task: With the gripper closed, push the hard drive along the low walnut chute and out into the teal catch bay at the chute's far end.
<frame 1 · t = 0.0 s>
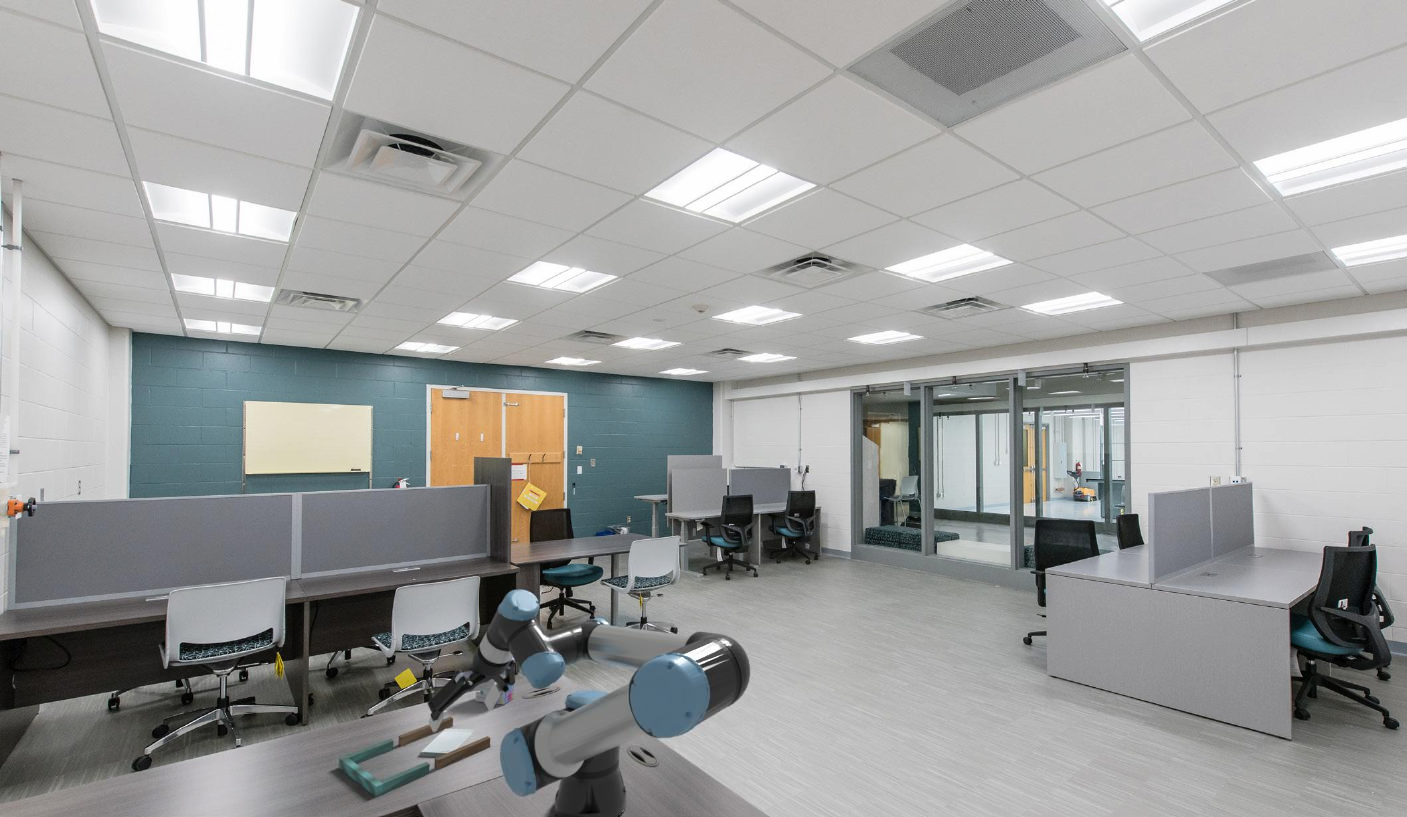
hand: (461, 715, 138), 15 cm above the table, tool tilted 35°, fingers open, 13 cm apart
ink cartridge box: (495, 700, 182), on the table
hard drive: (447, 747, 155), on the table
chute: (447, 744, 155), on the table
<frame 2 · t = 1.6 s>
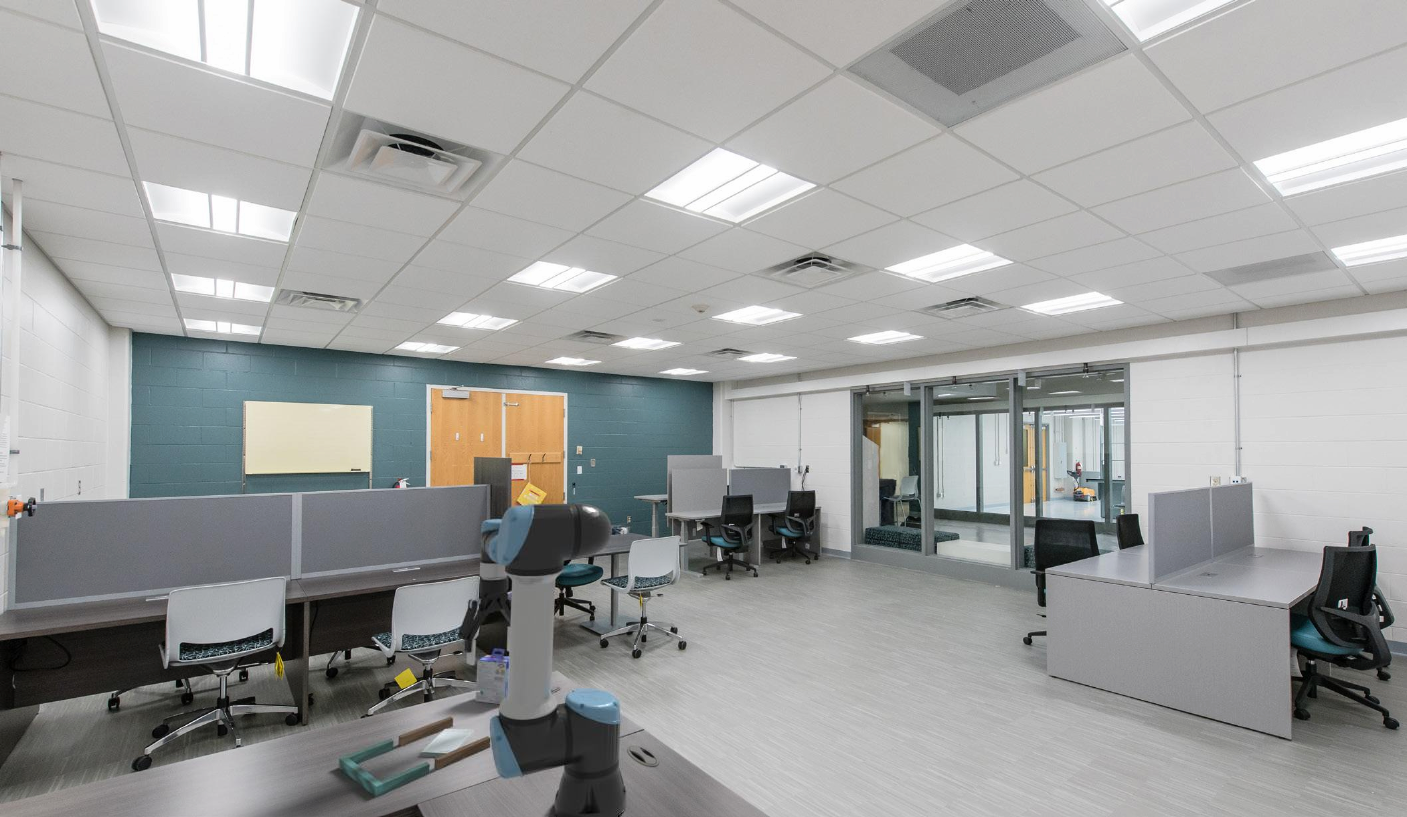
hand: (491, 657, 166), 19 cm above the table, tool pointing down, fingers open, 12 cm apart
nothing on the table moved.
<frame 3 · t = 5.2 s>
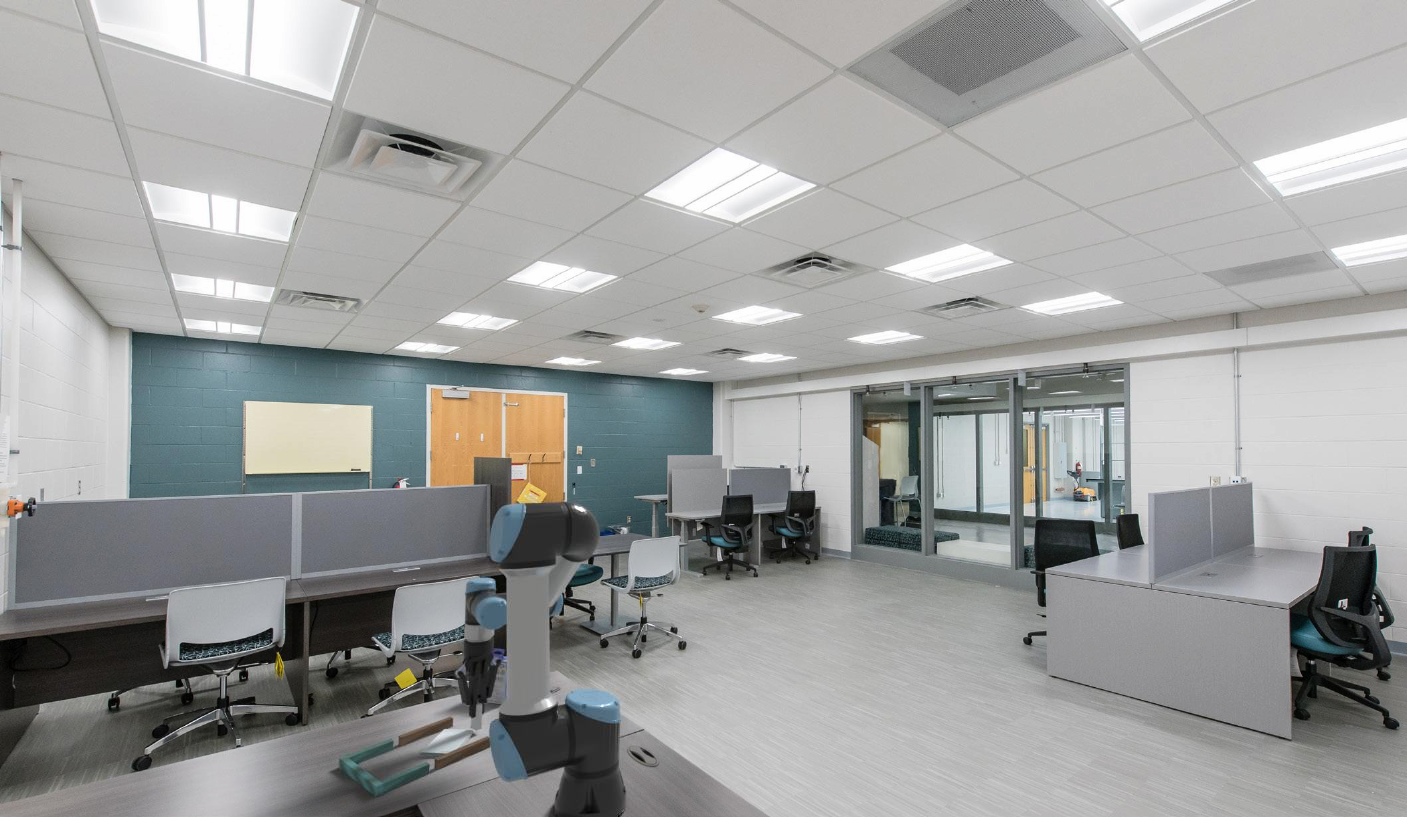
hand: (476, 728, 162), 1 cm above the table, tool pointing down, fingers closed
hard drive: (447, 747, 155), on the table, touching gripper
everything else where it was.
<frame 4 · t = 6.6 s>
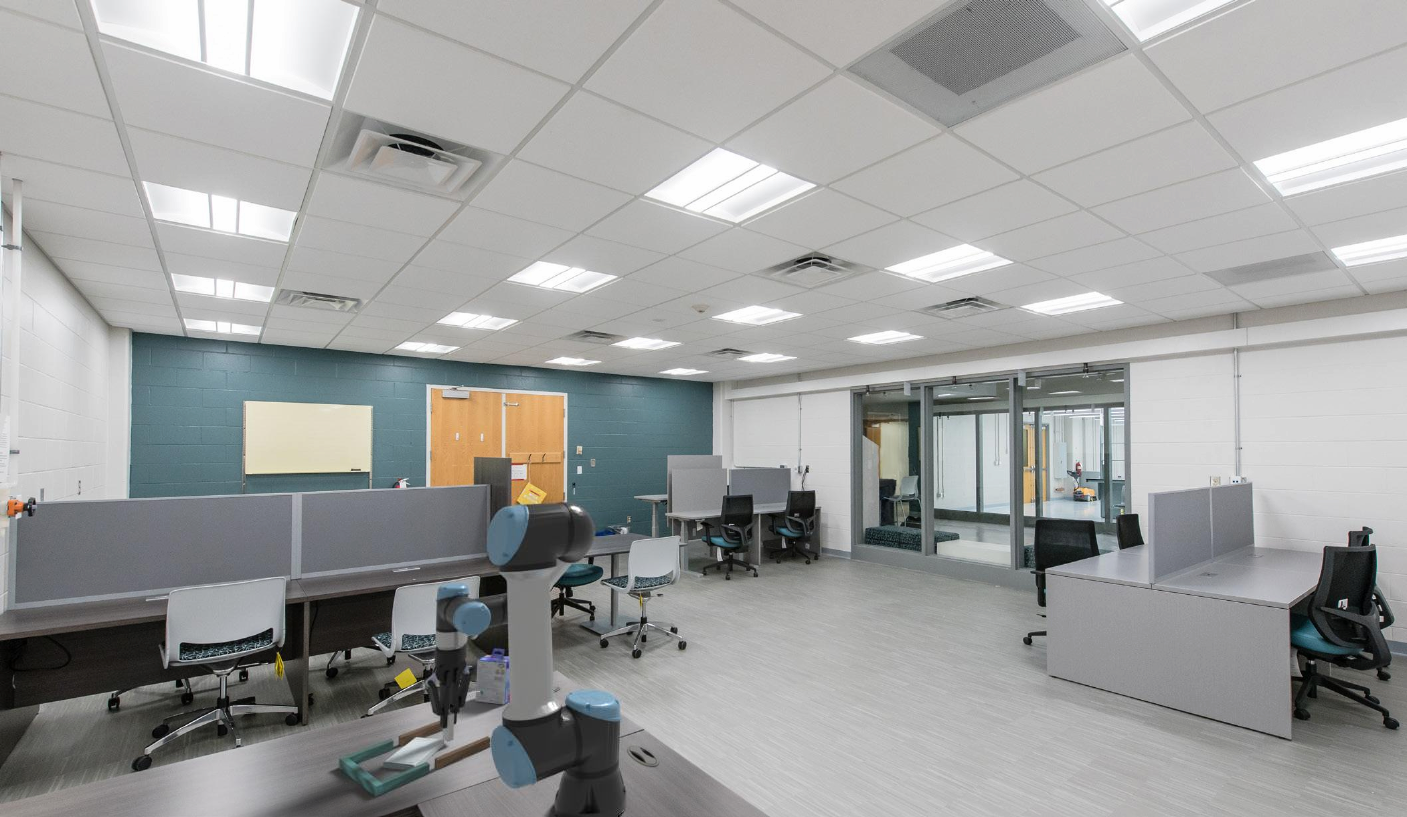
hand: (447, 739, 155), 1 cm above the table, tool pointing down, fingers closed
hard drive: (414, 757, 149), on the table
everything else where it was.
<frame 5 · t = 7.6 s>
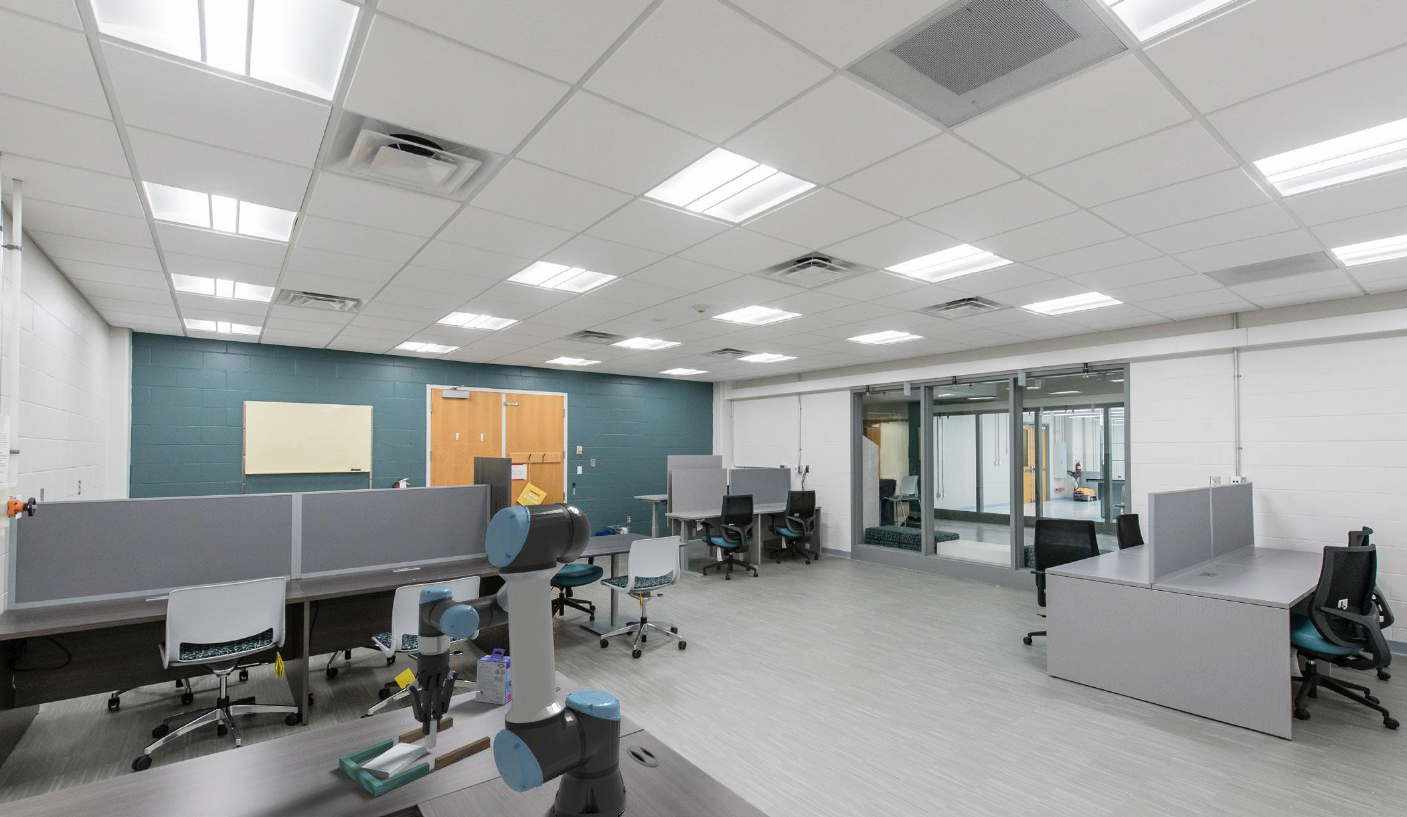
hand: (430, 746, 152), 1 cm above the table, tool pointing down, fingers closed
hard drive: (394, 764, 146), on the table
everything else where it was.
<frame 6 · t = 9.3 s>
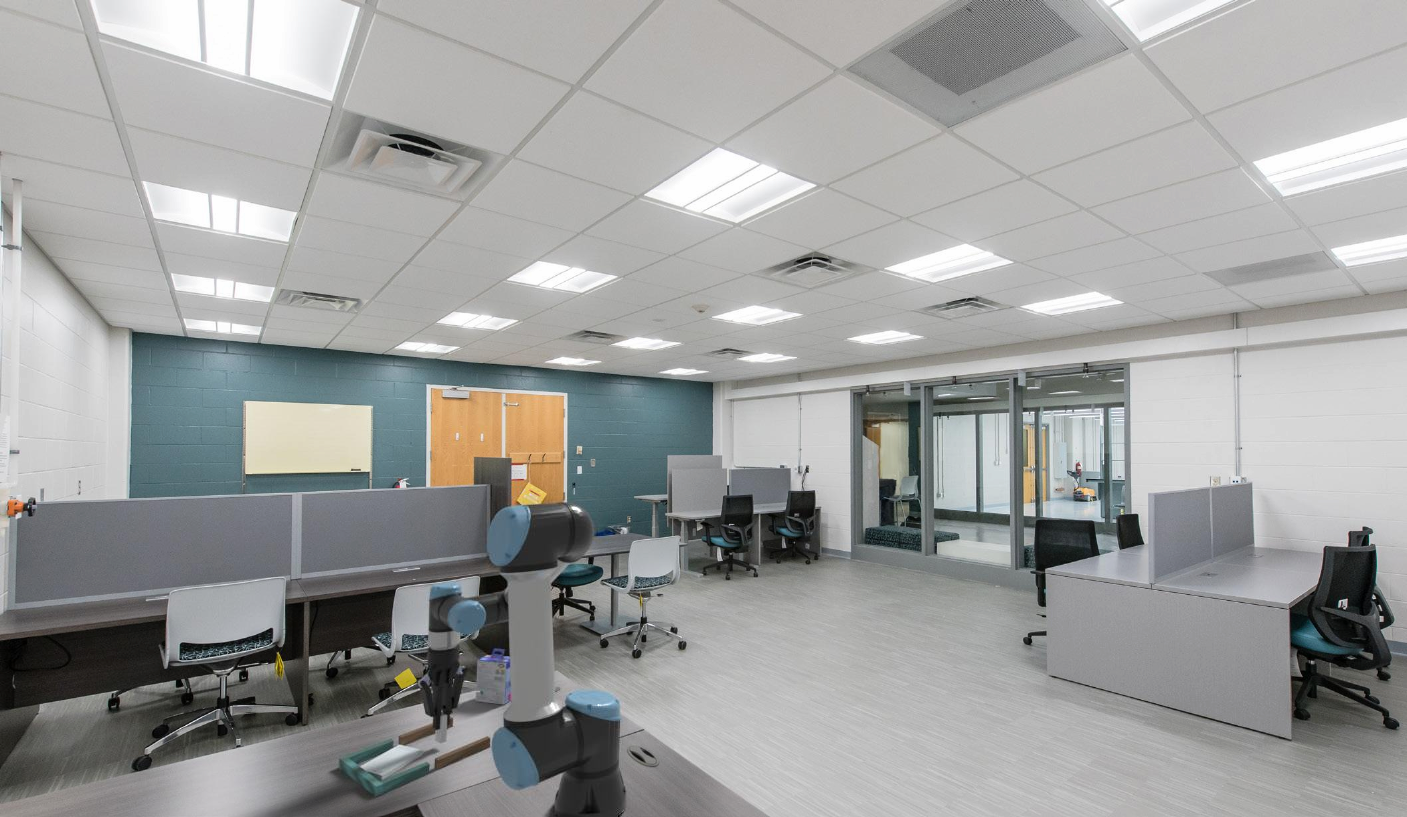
hand: (440, 740, 153), 2 cm above the table, tool pointing down, fingers closed
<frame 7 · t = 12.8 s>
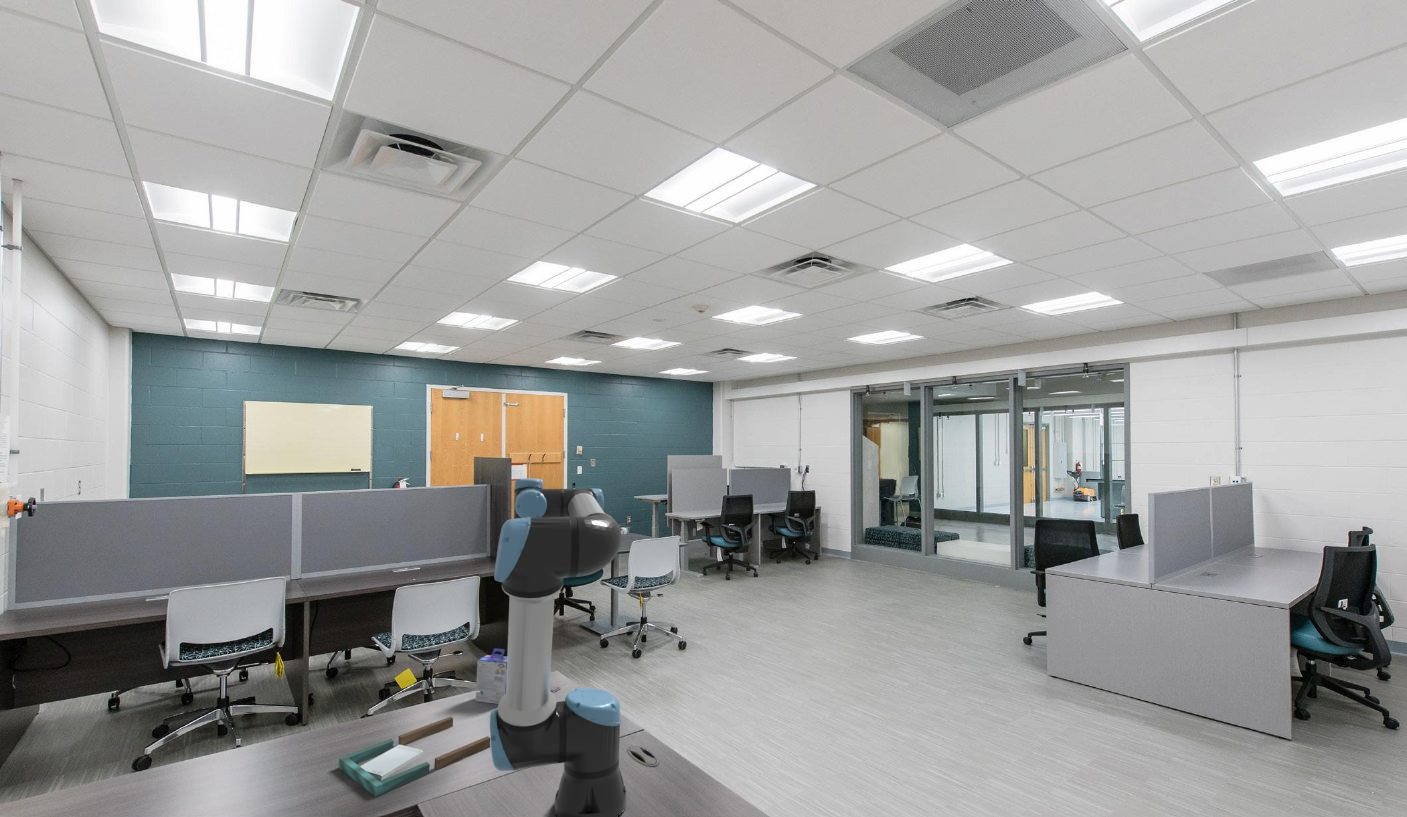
hand: (524, 625, 163), 28 cm above the table, tool pointing down, fingers closed
nothing on the table moved.
at the end: hard drive inside the target area (2.7 cm from its centre), on the table; hard drive moved 13.7 cm from its start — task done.
